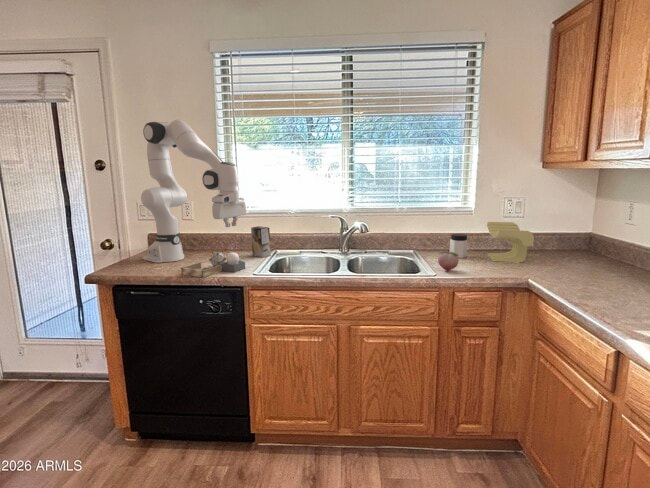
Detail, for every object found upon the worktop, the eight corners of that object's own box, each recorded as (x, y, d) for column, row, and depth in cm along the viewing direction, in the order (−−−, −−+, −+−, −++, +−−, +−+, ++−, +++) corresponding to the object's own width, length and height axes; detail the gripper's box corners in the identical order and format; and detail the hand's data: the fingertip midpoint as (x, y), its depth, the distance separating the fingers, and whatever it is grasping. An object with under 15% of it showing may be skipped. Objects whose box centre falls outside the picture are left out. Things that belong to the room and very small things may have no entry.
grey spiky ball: (220, 275, 192) (220, 262, 185) (205, 268, 193) (204, 255, 186) (230, 263, 198) (230, 250, 191) (215, 256, 199) (214, 243, 192)
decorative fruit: (459, 269, 184) (460, 248, 182) (457, 273, 177) (458, 252, 175) (438, 267, 188) (439, 247, 186) (436, 271, 181) (437, 250, 179)
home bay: (181, 274, 180) (181, 267, 180) (200, 268, 191) (199, 262, 190) (203, 277, 174) (203, 271, 174) (221, 271, 185) (221, 265, 184)
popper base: (221, 270, 186) (221, 263, 185) (232, 266, 193) (232, 260, 192) (234, 272, 183) (234, 265, 182) (245, 268, 190) (244, 261, 189)
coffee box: (271, 255, 218) (270, 227, 215) (262, 257, 213) (261, 228, 210) (260, 253, 224) (259, 225, 220) (251, 255, 219) (250, 227, 216)
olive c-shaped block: (531, 267, 187) (534, 230, 184) (495, 265, 191) (498, 230, 187) (515, 254, 216) (518, 222, 213) (485, 252, 219) (487, 221, 216)
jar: (469, 257, 208) (470, 235, 206) (455, 258, 206) (456, 236, 204) (460, 254, 216) (461, 233, 214) (446, 255, 215) (448, 233, 212)
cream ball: (224, 267, 186) (223, 253, 185) (232, 264, 191) (231, 250, 190) (234, 268, 184) (233, 254, 182) (242, 265, 189) (241, 251, 187)
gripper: (238, 195, 192) (239, 223, 194) (209, 198, 174) (211, 229, 176) (248, 196, 189) (249, 224, 192) (219, 199, 171) (221, 229, 174)
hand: (231, 226), depth 184 cm, fingers open, 3 cm apart
